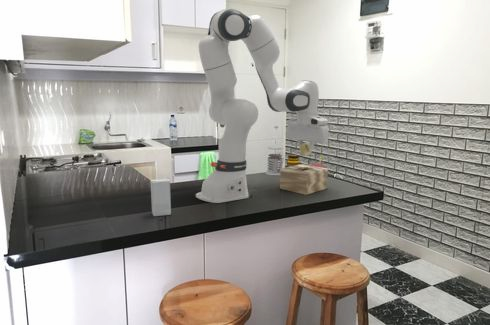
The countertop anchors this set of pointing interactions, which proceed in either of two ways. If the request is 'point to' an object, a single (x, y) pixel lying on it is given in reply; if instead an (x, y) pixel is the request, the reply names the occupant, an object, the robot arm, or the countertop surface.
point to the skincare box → (160, 197)
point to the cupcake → (319, 163)
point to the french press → (274, 160)
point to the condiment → (292, 160)
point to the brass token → (304, 149)
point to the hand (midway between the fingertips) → (305, 151)
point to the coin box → (303, 179)
